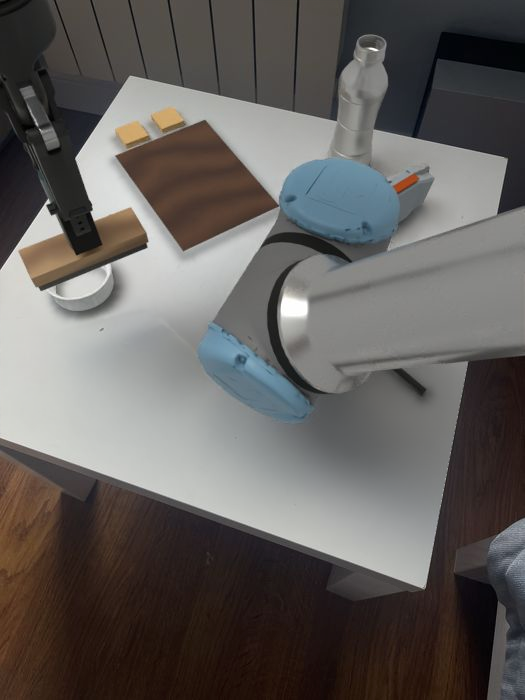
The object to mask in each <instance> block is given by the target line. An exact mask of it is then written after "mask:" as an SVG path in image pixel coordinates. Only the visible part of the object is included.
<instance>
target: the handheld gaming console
mask: <svg viewBox="0 0 525 700" xmlns="http://www.w3.org/2000/svg"><path fill="white" fill-rule="evenodd" d="M430 169H431V167H430V166H429V165H428V163H426V162H422V163H419V164H415V165H411V166H408V167H406V168H405V169H403V170H401V171H400V172H398V173H396V174H395V175H393V176H392V177H389V178H387V180H388V181H389V184H390V185H391V186H392V187H394V189H395V190H396V192H397V194H398V197H399V202H400V212H399V216H398V220H397V222H398V224H400V223H401V222H402V221H404V220H405V219H406V218H408V217H409V216H410V214H411V213H412V211H414V209H416V208H418V207H419V206H420V205H422V204H423V203H424V202H425V200H426V198H427V196H428V194H429V192H430V190H431V188H432V185H433V183H434V182H435V179H436V178H435V176H434V175H432V174H431V173H430Z"/></svg>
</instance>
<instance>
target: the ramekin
mask: <svg viewBox="0 0 525 700" xmlns="http://www.w3.org/2000/svg"><path fill="white" fill-rule="evenodd" d="M99 269H102V270H103V271H104V272H105V273H106V276H105V279H104V281H103V282H102V283H101V284H100V286H99V287H97V288H96V289H95V290H93V291H91V292H89V293H87V294H84V295H80V296H76V297H65V296H61V295H60V294H58V293H57V285H55V286H53V287H51V288H48V289H46V290H45V291H46V293H47V294H48V295H49V296H51V297H52V298H53V300H54V301H55V302H56V303H57V304H58V305H59V306H60V307H61V308H63V309H65V310H69V311H72V312H73V311H74V312H82V311H83V312H85V311H88V310H92V309H94V308H96V307H98V306H100V305H101V304H103V303H105V301H106V300H108V298H109V297H110V296H111V294H112V292H113V289H114V285H115V280H114V274H113V267H112V263H109V264H107V265H104V266H102V267H100V268H99Z"/></svg>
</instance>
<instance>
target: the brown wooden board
mask: <svg viewBox="0 0 525 700" xmlns="http://www.w3.org/2000/svg"><path fill="white" fill-rule="evenodd" d="M114 157H115V158H116V160H117V161H118V162H119V164H120V165H121V167H122V168H123V169H124V171H125V173H126V174H127V175H128V177H129V178H130V179H131V181H132V182H133V184H134V185H135V186H136V187H137V189H138V190H139V192H140V193H141V195H142V196H143V197H144V199H145V200H146V202H147V204H149V206H150V207H151V208H152V210H153V211H154V213H155V215H157V217H158V218H159V220H160V221H161V222H162V224H163V225H164V227H165V228H166V229H167V231H168V232H169V234H170V235H171V236H172V238H173V240H175V242H176V244H178V246H179V247H180V249H181V251H182V252H185V251H187V250H190V249H192V248H193V247H196V246H198V245H200V244H202V243H204V242H206V241H208V240H211V239H214V238H215V237H218V236H220V235H221V234H224V233H226V232H228V231H230V230H233V229H234V228H237V227H238V226H240V225H243V224H245V223H247V222H249V221H251V220H253V219H256V218H257V217H259V216H261V215H264V214H266V213H268V212H271V211H272V210H275V209H277V208H280V205H279V203H278V202H277V201H276V200H275V198H274V197H272V196H271V194H270V193H269V192H268V191H267V189H265V187H264V186H263V185H262V184H261V182H260V181H259V180H258V179H257V177H256V176H254V174H252V172H251V171H250V170H249V169H248V167H247V166H246V165H245V164H244V163H243V162H242V161H241V160H240V158H239V157H238V156H237V155H236V154H235V152H234V151H233V150H232V149H231V148H230V147H229V146H228V144H227V143H226V142H225V141H224V140H223V138H221V136H220V135H219V134H218V133H217V132H216V131H215V129H214V128H213V127H212V126H211V125H210V124H209V122H208V121H207V120H206V119H203V120H200V121H198V122H195V123H193V124H189V125H187V126H186V127H183V128H180V129H178V130H176V131H173V132H170V133H168V134H165V135H163V136H161V137H158V138H156V139H152V140H151V141H147V142H145V143H143V144H140V145H138V146H136V147H135V146H134V147H133V148H131V149H128V150H126V151H123V152H121V153H118V154H115V155H114Z"/></svg>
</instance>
